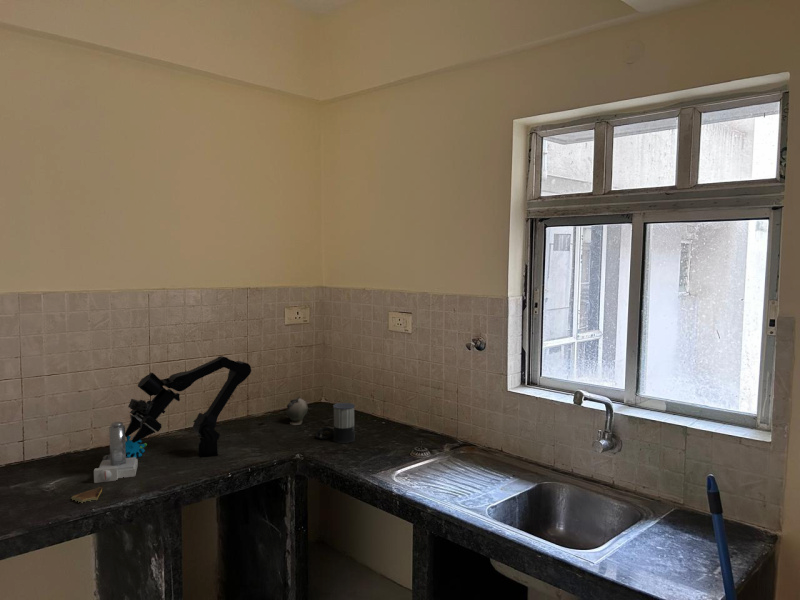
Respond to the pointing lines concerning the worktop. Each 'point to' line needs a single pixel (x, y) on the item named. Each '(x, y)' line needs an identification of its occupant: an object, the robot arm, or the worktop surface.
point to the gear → (134, 447)
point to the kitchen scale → (115, 470)
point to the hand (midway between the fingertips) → (128, 439)
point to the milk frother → (341, 424)
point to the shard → (88, 495)
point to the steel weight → (117, 444)
